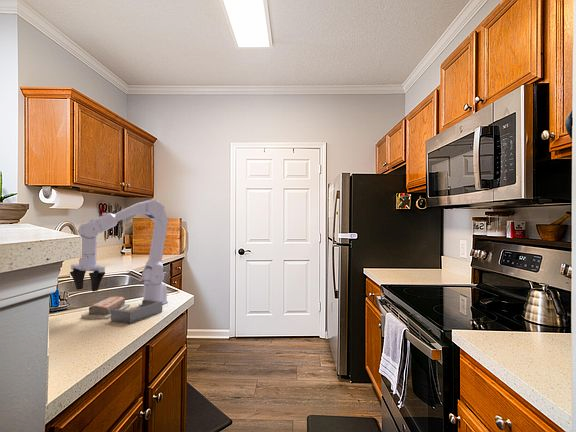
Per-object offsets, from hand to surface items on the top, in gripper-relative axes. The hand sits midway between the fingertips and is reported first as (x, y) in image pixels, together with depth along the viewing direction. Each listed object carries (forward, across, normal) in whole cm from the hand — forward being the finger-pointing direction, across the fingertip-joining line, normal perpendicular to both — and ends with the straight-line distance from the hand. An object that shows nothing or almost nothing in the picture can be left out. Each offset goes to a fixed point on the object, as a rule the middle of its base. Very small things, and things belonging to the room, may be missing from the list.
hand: (87, 290), depth 135 cm
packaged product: (+10, +4, +6) cm, 12 cm away
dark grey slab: (+9, +18, +5) cm, 21 cm away
